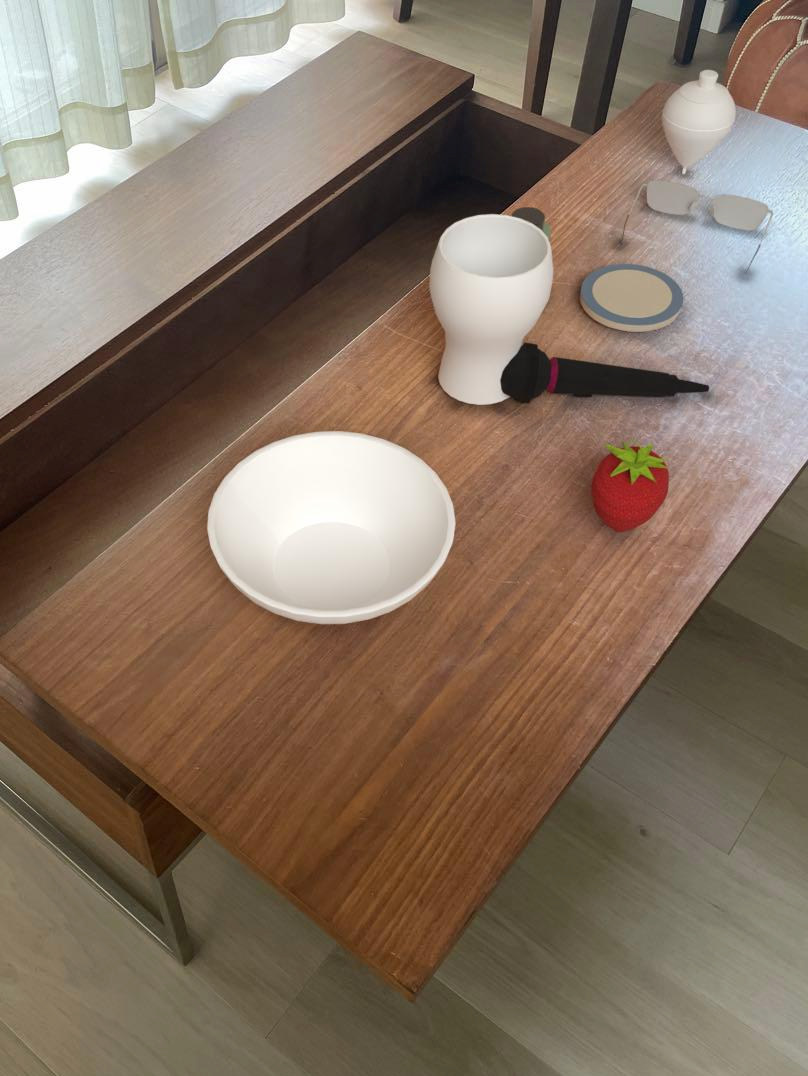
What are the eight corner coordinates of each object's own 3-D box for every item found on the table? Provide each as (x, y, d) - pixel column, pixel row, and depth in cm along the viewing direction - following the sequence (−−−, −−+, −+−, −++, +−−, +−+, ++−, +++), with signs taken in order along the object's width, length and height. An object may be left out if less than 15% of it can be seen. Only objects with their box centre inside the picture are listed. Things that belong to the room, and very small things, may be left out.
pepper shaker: (549, 301, 113) (563, 221, 106) (509, 315, 112) (520, 235, 105) (524, 276, 116) (536, 197, 109) (484, 289, 115) (493, 210, 108)
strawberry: (568, 546, 92) (587, 462, 84) (598, 487, 96) (620, 403, 88) (637, 571, 90) (664, 488, 82) (665, 510, 94) (693, 426, 86)
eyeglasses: (766, 234, 118) (776, 203, 115) (747, 281, 114) (758, 250, 111) (637, 205, 123) (644, 175, 120) (615, 249, 119) (621, 219, 116)
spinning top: (666, 196, 124) (691, 95, 115) (638, 161, 129) (660, 62, 120) (730, 185, 125) (760, 84, 115) (699, 151, 130) (726, 51, 120)
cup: (439, 424, 101) (451, 291, 90) (411, 351, 108) (418, 219, 97) (550, 406, 102) (575, 272, 91) (515, 335, 109) (534, 202, 98)
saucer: (684, 283, 114) (687, 271, 112) (674, 344, 108) (678, 331, 106) (586, 269, 116) (588, 257, 115) (571, 327, 110) (574, 315, 109)
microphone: (690, 404, 106) (485, 386, 106) (707, 348, 103) (497, 330, 103) (707, 429, 102) (494, 410, 101) (726, 371, 99) (506, 352, 98)
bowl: (387, 706, 83) (390, 655, 78) (170, 612, 90) (159, 559, 84) (485, 531, 93) (493, 475, 88) (284, 459, 100) (281, 403, 95)
